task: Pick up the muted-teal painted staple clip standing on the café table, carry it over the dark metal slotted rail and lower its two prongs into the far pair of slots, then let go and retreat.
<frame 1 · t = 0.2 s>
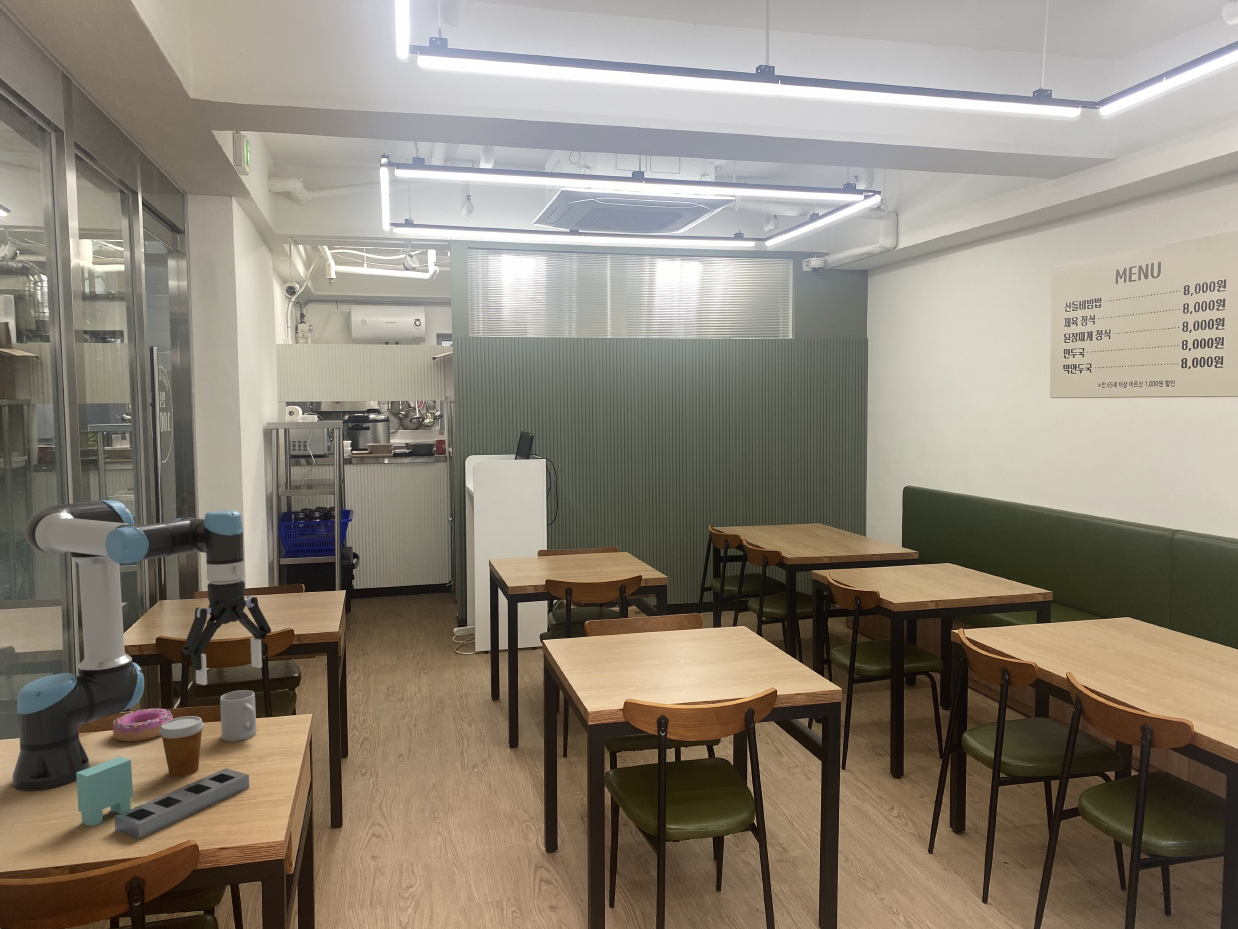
hand: (230, 675, 185), 28 cm above the table, fingers open, 13 cm apart
mug: (242, 737, 222), on the table
clip: (106, 816, 178), on the table
donut: (143, 734, 226), on the table
rail: (185, 808, 181), on the table
disposable coffee cup: (184, 772, 200), on the table
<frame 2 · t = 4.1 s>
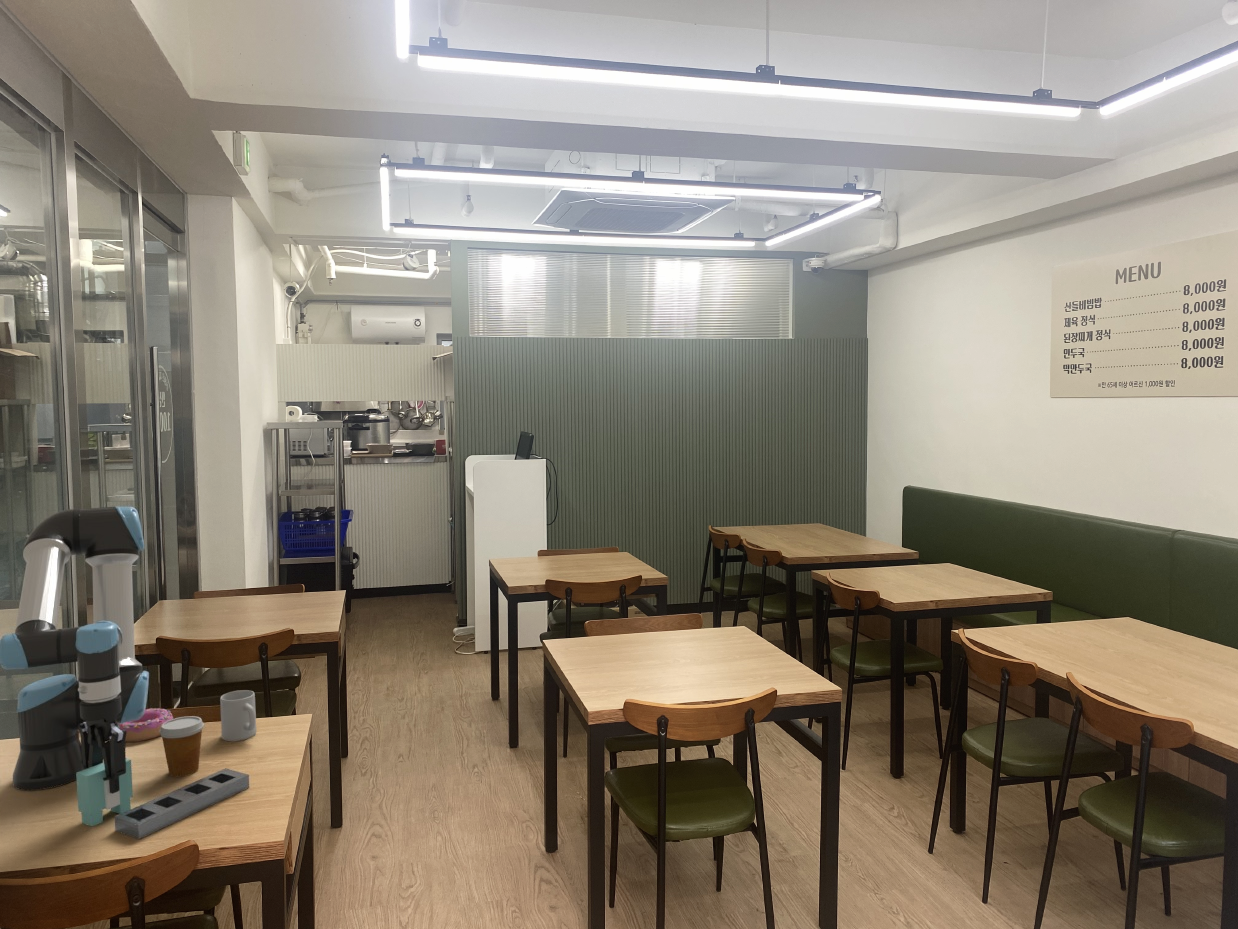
hand: (106, 804, 178), 3 cm above the table, fingers closed on clip, 4 cm apart
clip: (106, 816, 178), on the table, touching gripper
everything else where it was.
when the fingers open (4 cm above the table, at t = 9.3 s): clip drops 1 cm, resting on rail.
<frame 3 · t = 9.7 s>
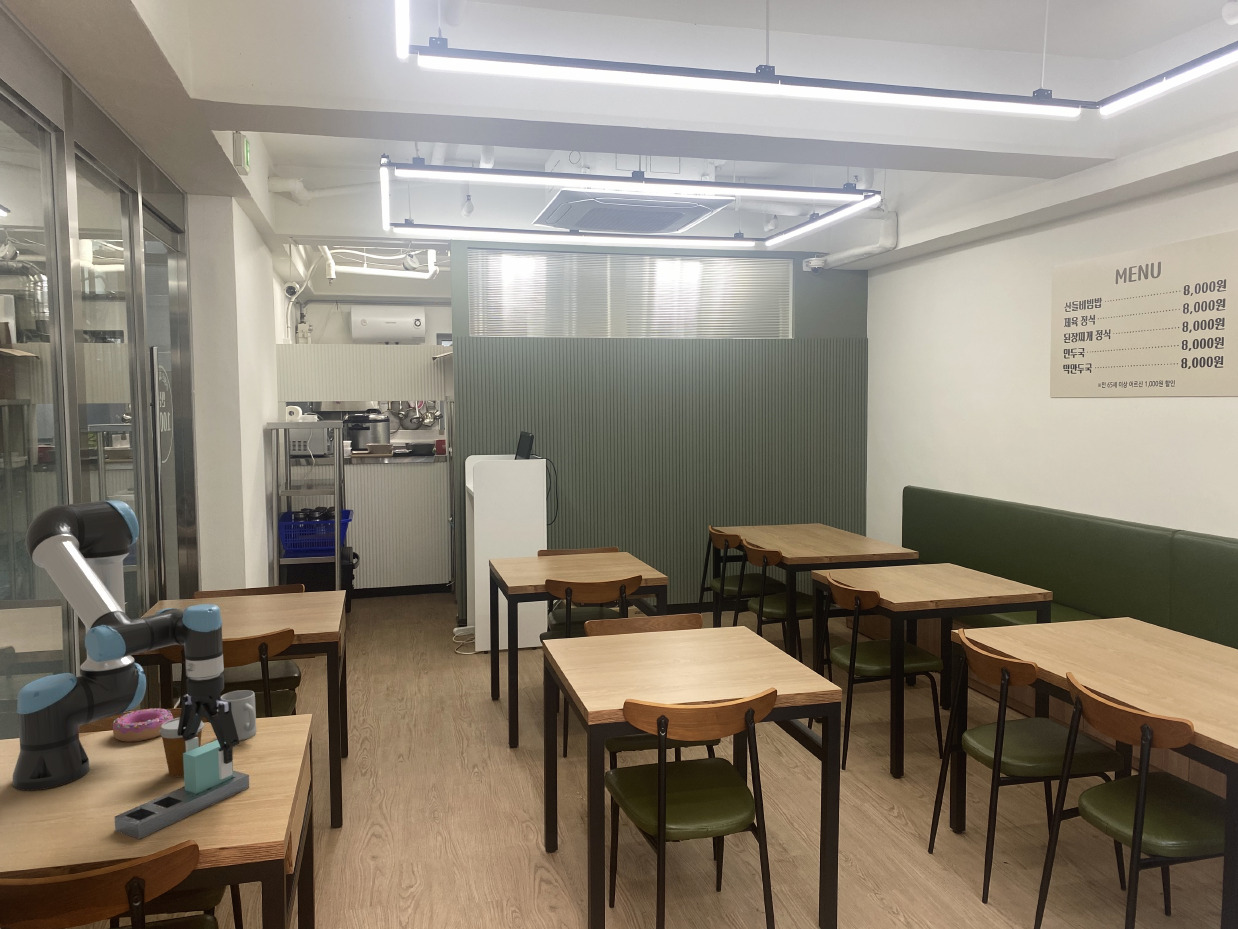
hand: (209, 771, 186), 6 cm above the table, fingers open, 10 cm apart
clip: (210, 795, 187), resting on rail
everything else where it was.
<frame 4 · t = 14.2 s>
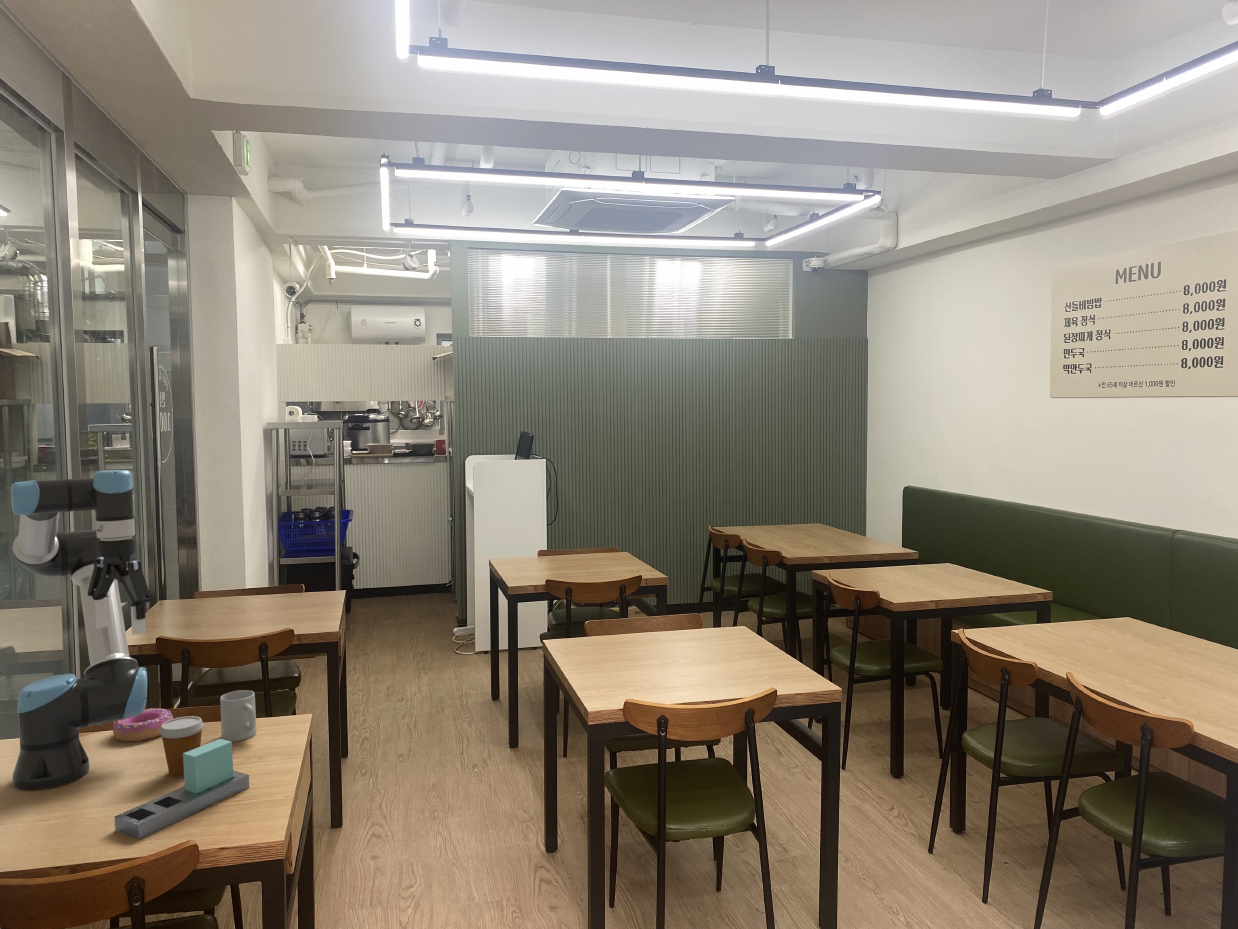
hand: (120, 630, 190), 37 cm above the table, fingers open, 13 cm apart
nothing on the table moved.
at the end: clip 0.1 cm from the target spot on the rail, point 0.3 cm above the rail's base; clip tilted 0°; the gripper is holding nothing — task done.
